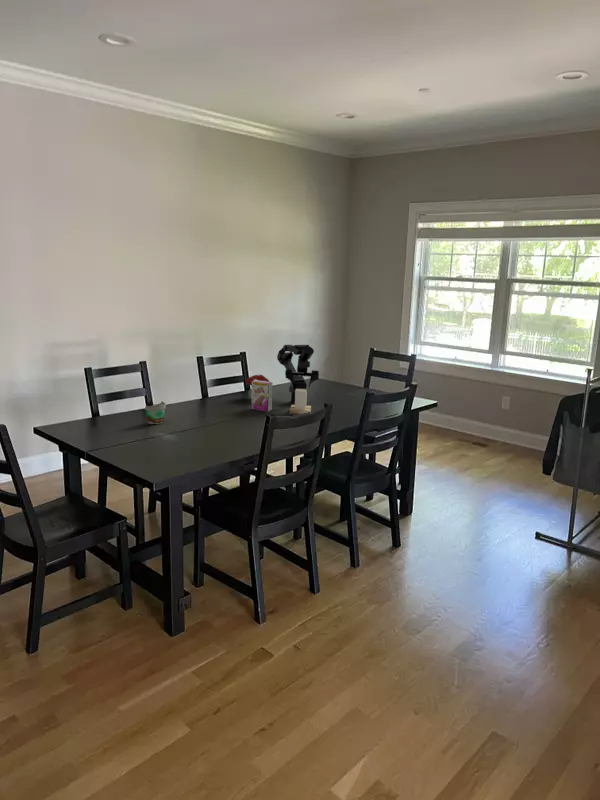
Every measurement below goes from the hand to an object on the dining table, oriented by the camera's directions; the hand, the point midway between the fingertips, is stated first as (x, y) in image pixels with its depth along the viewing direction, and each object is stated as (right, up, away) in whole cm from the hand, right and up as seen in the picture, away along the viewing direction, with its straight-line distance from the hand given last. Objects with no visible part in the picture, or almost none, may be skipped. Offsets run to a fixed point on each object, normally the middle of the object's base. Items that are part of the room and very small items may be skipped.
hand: (301, 387), depth 346 cm
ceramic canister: (0, -11, 0) cm, 11 cm away
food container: (-73, -19, -29) cm, 81 cm away
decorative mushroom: (-25, -7, +26) cm, 37 cm away
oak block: (0, -14, +1) cm, 14 cm away
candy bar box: (-22, -13, +2) cm, 26 cm away
